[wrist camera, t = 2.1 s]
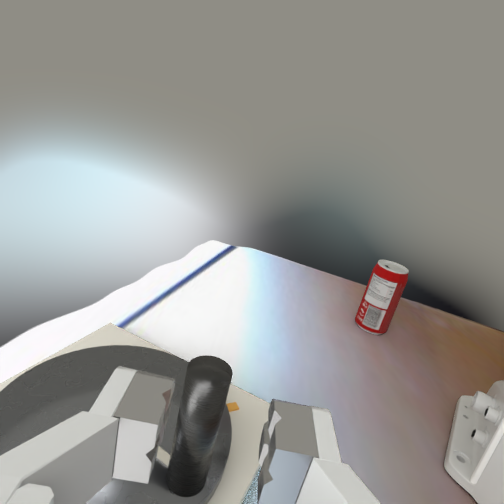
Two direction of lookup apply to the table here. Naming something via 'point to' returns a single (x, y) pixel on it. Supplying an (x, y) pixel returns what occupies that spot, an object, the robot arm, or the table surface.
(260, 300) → the table surface
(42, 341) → the table surface
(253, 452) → the dial base
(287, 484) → the robot arm
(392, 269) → the soda can
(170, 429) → the dial
